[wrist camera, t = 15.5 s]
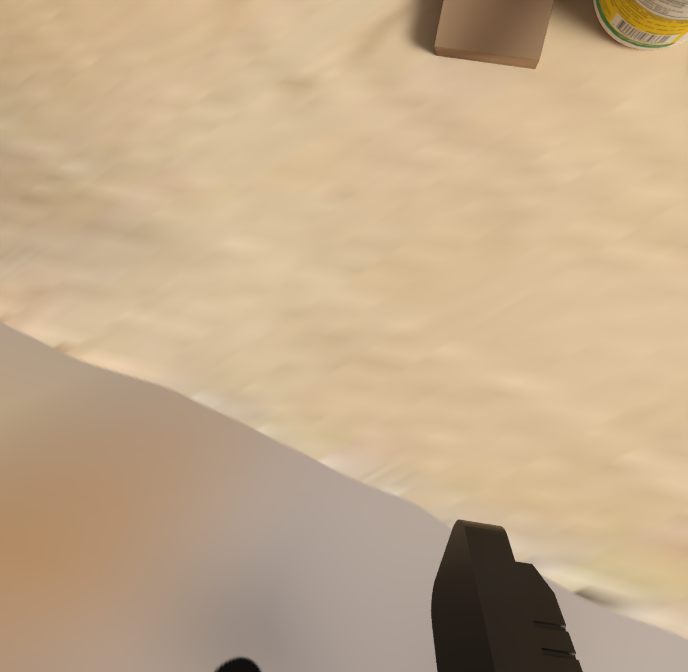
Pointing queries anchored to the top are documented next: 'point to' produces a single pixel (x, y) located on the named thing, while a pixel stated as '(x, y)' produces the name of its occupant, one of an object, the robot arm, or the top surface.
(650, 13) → the supplement bottle
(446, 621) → the robot arm
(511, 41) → the brown wooden l-shaped block
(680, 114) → the top surface
